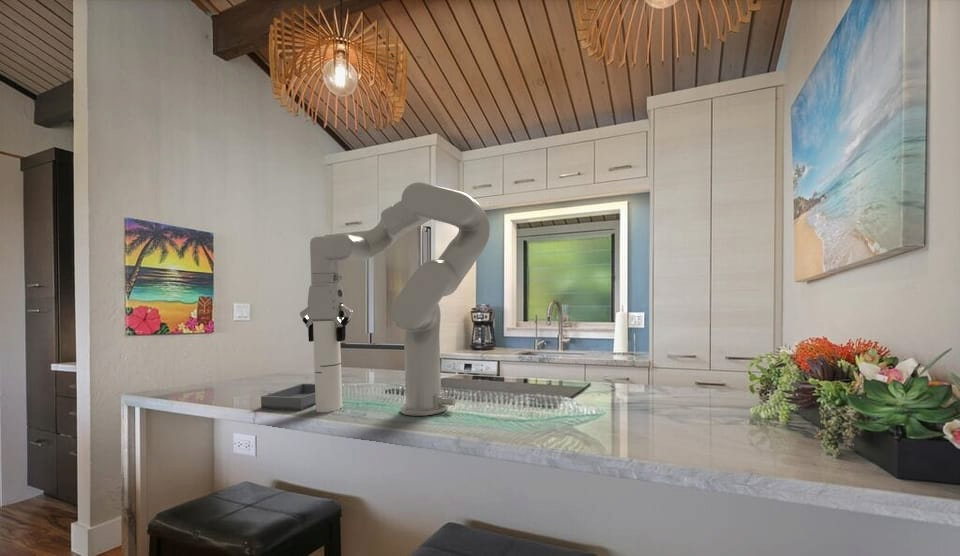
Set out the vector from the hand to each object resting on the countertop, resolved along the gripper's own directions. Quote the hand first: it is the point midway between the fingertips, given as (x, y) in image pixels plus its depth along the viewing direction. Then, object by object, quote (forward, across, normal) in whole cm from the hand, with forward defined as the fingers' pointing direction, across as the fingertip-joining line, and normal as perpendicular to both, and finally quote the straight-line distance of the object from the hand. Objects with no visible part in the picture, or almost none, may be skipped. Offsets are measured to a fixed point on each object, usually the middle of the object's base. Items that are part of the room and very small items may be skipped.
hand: (327, 340), depth 130 cm
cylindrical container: (+19, 0, 0) cm, 19 cm away
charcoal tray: (+19, +14, -6) cm, 25 cm away
